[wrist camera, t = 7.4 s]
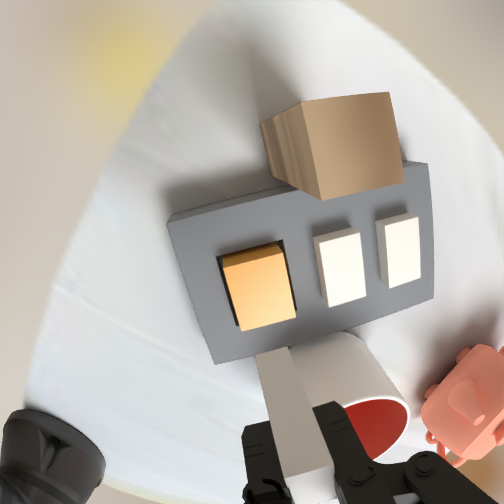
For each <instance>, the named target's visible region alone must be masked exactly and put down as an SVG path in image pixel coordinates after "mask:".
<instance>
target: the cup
mask: <svg viewBox="0 0 504 504" xmlns="http://www.w3.org/2000/svg"><path fill="white" fill-rule="evenodd" d="M289 352H290V355H291V357H292V360H293V362H294V365H295V367H296V370H297V372H298V375H299V377H300V380H301V382H302V385H303V387H304V390H305V392H306V395H307V397H308V400H309V403H310V405H311V408H312V407H316V406H319V405H322V404H325V403H328V402H331V401H336V402H337V403H338V404H340V405H341V406H342V407H344V409H345V411H346V413H347V415H348V417H349V419H350V421H351V423H352V425H353V427H354V429H355V431H356V433H357V435H358V437H359V439H360V441H361V443H362V445H363V447H364V449H365V451H366V453H367V454H368V456H369V457H370V458H371V459H372V460H373V461H374V460H375V459H377V458H379V457H380V456H381V455H383V454H384V453H386V452H387V451H388V450H389V449H390V448H391V447H393V446H394V445H395V444H396V442H397V441H398V440H399V439H400V438H401V436H402V435H403V433H404V432H405V430H406V428H407V426H408V423H409V420H410V409H409V406H408V404H407V403H406V401H405V400H404V398H403V397H402V395H401V394H400V393H399V391H398V390H397V388H396V387H395V385H394V384H393V382H392V381H391V380H390V378H389V377H388V375H387V374H386V372H385V371H384V370H383V368H382V367H381V365H380V364H379V362H378V361H377V360H376V358H375V357H374V355H373V354H372V353H371V351H370V350H369V348H368V347H367V346H366V344H365V343H364V342H363V341H362V340H360V339H359V338H358V337H356V336H354V335H352V334H349V333H345V332H337V333H333V334H330V335H327V336H324V337H320V338H317V339H314V340H310V341H307V342H303V343H300V344H296V345H293V346H292V347H291V348H290V349H289Z"/></svg>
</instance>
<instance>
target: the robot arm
mask: <svg viewBox="0 0 504 504" xmlns="http://www.w3.org/2000/svg"><path fill="white" fill-rule="evenodd" d="M254 356H255V360H256V365H257V369H258V373H259V377H260V382H261V386H262V390H263V394H264V399H265V403H266V407H267V411H268V415H269V419H270V420H269V421H265V422H261V423H257V424H252V425H248V426H245V428H244V431H243V434H242V436H241V439H242V446H243V452H244V458H245V466H246V472H247V479H248V483H247V484H246V486H245V488H244V489H243V495H242V498H243V499H244V501H245V503H244V504H320V503H324V502H327V501H330V500H333V499H336V498H337V497H338V500H339V503H340V504H498V503H497V502H496V501H495V500H493V499H492V498H491V497H490V496H488V495H487V494H486V493H485V492H483V491H482V490H481V489H480V488H479V487H477V486H476V485H475V484H474V483H472V482H471V481H470V480H469V479H468V478H466V477H465V476H464V475H463V474H461V473H460V472H459V471H458V470H457V469H456V468H454V467H453V466H452V465H451V464H450V463H448V462H447V461H446V460H445V459H444V458H442V457H441V456H440V455H439V454H437V453H435V452H432V451H423V452H418V453H416V454H415V455H413V456H411V458H410V459H409V460H408V461H407V462H401V463H395V464H381V463H377V462H375V461H373V460H372V459H371V458H370V457H369V456H368V454H367V453H366V451H365V449H364V447H363V445H362V443H361V441H360V439H359V437H358V435H357V433H356V431H355V429H354V427H353V425H352V423H351V421H350V419H349V417H348V415H347V413H346V411H345V409H344V407H342V406H341V405H340V404H338V403H337V402H336V401H331V402H328V403H325V404H322V405H319V406H316V407H312V408H311V405H310V403H309V400H308V397H307V395H306V392H305V390H304V387H303V385H302V382H301V380H300V377H299V375H298V372H297V370H296V367H295V365H294V362H293V360H292V357H291V355H290V352H289V350H288V347H283V348H280V349H276V350H273V351H269V352H265V353H261V354H258V355H254ZM105 468H106V463H105V459H104V457H103V455H102V454H101V452H100V451H99V450H98V448H97V447H96V446H95V445H94V444H93V443H92V442H91V441H90V440H89V439H88V438H86V437H85V436H84V435H83V434H81V433H80V432H78V431H77V430H76V429H74V428H73V427H71V426H69V425H68V424H66V423H64V422H62V421H60V420H58V419H56V418H54V417H52V416H49V415H47V414H44V413H41V412H38V411H34V410H27V409H22V410H16V411H14V412H12V413H11V415H10V416H9V418H8V420H7V422H6V423H5V425H4V428H3V441H2V447H1V458H0V504H85V503H86V502H87V500H88V499H89V497H90V496H91V494H92V492H93V491H94V489H95V488H96V487H98V486H99V484H100V483H101V482H102V480H103V476H104V472H105Z"/></svg>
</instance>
